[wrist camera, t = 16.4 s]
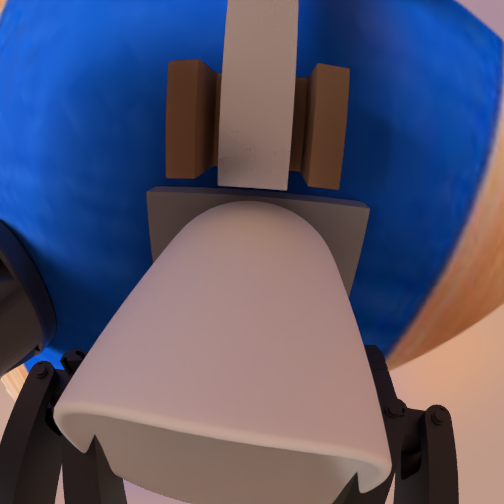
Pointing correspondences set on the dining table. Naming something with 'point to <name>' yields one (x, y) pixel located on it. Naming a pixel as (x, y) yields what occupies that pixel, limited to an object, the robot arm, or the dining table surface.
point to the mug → (234, 370)
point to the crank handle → (257, 93)
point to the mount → (303, 127)
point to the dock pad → (306, 206)
